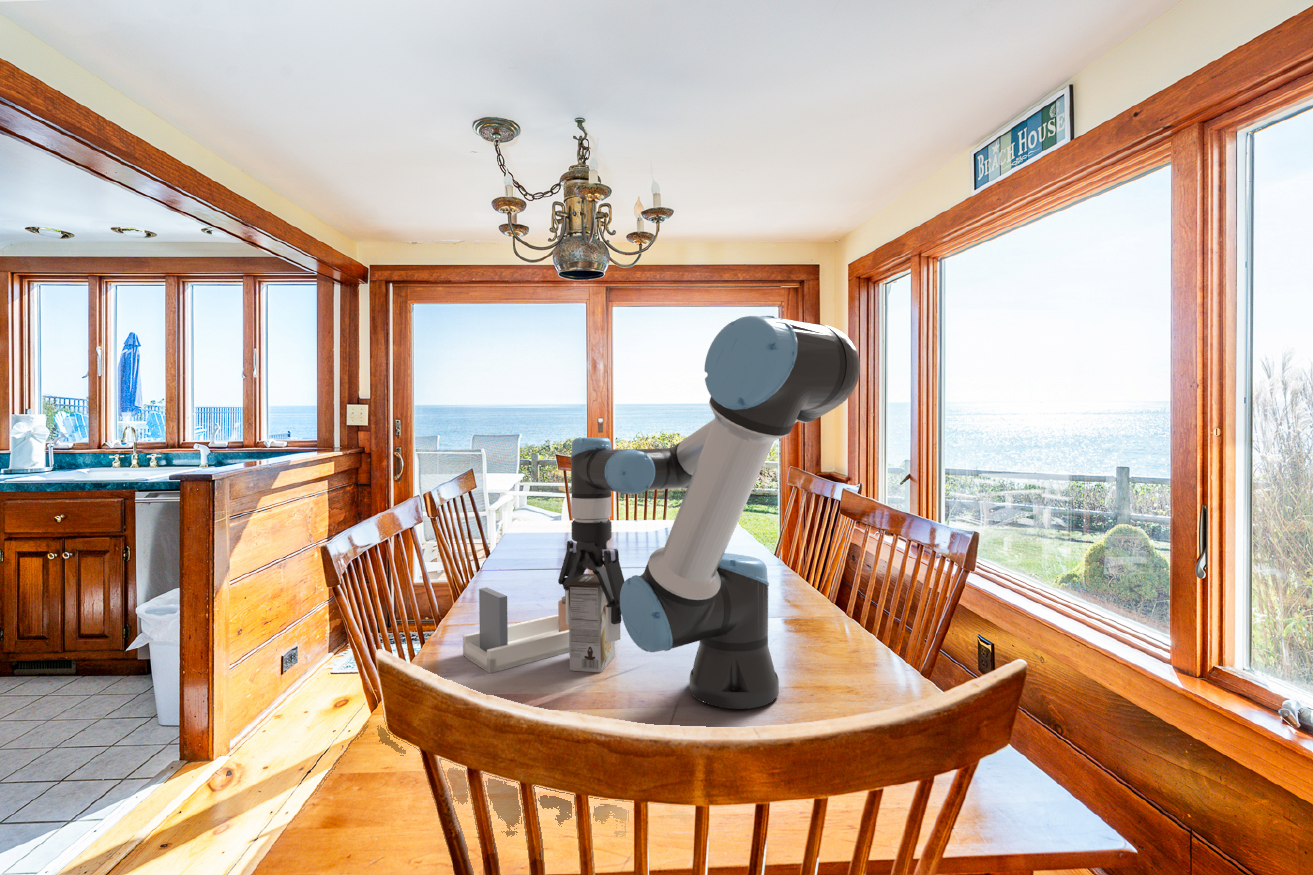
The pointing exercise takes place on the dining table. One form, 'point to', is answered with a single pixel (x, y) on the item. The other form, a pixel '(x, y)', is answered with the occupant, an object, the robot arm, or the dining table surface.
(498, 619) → the block
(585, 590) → the coffee box
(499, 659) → the white rectangular tray
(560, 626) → the jar
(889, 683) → the dining table surface
